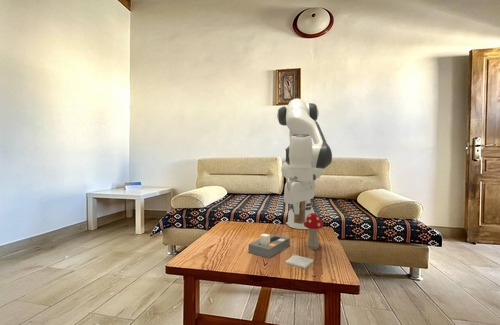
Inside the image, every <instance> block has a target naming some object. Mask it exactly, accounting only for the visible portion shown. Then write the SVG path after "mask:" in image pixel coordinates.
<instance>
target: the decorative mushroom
mask: <svg viewBox="0 0 500 325" xmlns="http://www.w3.org/2000/svg"><path fill="white" fill-rule="evenodd" d="M304 226H305V227H307V228H309V229H308V231H309V232H308V240H307V242H306V244H307V248H308V249H311V250H318V249H320V248H319V247H320V245H321V244H320V242H319V234H318V233H319V232H318V230H320V229H323V228H324V222H323V221H322V219H321V217H320V216H319V214H317V213H315V212H314V213H311V214H309V215H308V216H307V218H306V220H305V222H304Z"/></svg>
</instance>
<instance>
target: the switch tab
mask: <svg viewBox="0 0 500 325" xmlns="http://www.w3.org/2000/svg"><path fill="white" fill-rule="evenodd" d="M268 244H270V234H268V233H261V234H260V245H262V246H267V245H268Z"/></svg>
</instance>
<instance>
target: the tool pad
mask: <svg viewBox="0 0 500 325" xmlns="http://www.w3.org/2000/svg"><path fill="white" fill-rule="evenodd" d="M313 263H314V259H313V258H309V257H305V256H300V255H297V254H293V255H292V256H291V257H289V258H287V260H285V264H287V265H292V266H294V267H298V268H302V269H307V268H308V267H309V266H310V265H312V264H313Z"/></svg>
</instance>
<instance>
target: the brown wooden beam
mask: <svg viewBox="0 0 500 325" xmlns="http://www.w3.org/2000/svg"><path fill="white" fill-rule="evenodd" d="M299 208H300V214H295V213H294V223H299V224H302V223H304V222H305V201H302V202H300V205H299Z"/></svg>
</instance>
